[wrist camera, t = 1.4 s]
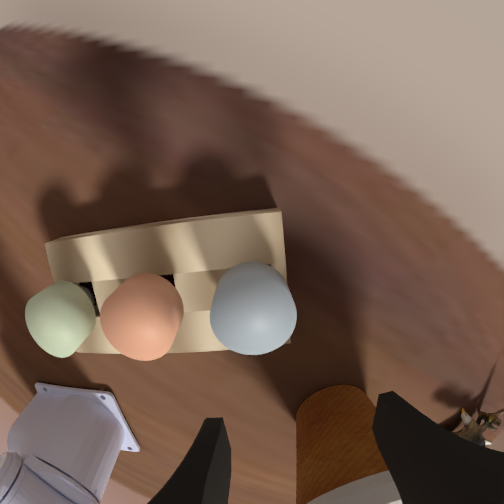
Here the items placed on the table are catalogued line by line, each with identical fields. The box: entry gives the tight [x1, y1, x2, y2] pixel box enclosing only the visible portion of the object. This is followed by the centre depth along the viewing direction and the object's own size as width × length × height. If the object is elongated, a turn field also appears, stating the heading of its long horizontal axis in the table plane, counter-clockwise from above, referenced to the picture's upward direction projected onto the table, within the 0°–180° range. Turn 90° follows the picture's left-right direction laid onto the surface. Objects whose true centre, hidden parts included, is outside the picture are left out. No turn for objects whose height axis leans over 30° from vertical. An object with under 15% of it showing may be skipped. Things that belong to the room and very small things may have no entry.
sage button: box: [25, 280, 96, 358], centre depth 15 cm, size 4×4×4 cm
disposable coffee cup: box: [296, 385, 402, 504], centre depth 16 cm, size 10×10×12 cm
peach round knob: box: [100, 273, 184, 361], centre depth 15 cm, size 4×4×4 cm
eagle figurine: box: [452, 408, 504, 447], centre depth 21 cm, size 8×7×9 cm
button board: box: [45, 208, 291, 354], centre depth 18 cm, size 15×8×2 cm, turn 96°
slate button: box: [210, 262, 297, 355], centre depth 15 cm, size 4×4×4 cm
